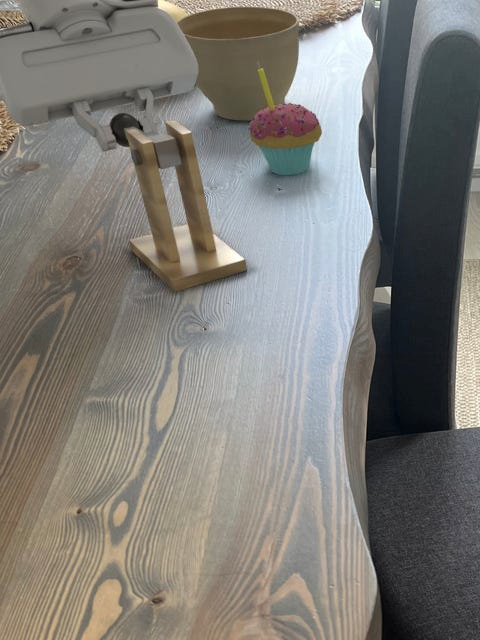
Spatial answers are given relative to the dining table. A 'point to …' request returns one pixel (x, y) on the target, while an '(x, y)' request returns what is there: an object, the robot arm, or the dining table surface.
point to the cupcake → (284, 134)
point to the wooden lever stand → (187, 240)
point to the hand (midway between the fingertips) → (131, 142)
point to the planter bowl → (243, 56)
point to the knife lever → (162, 142)
